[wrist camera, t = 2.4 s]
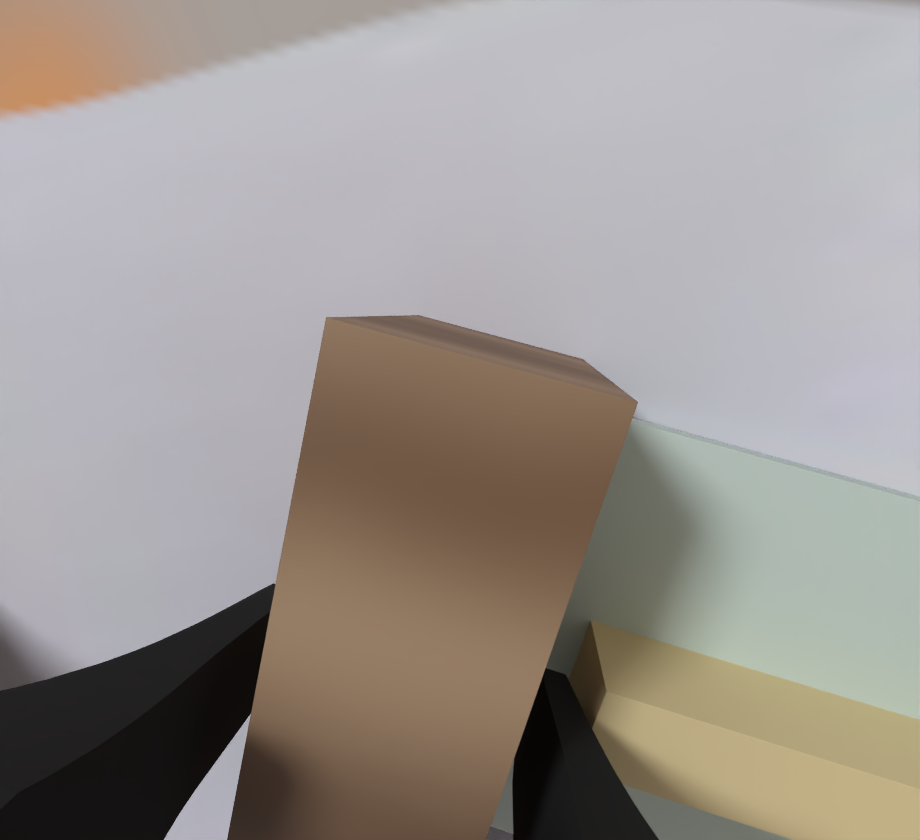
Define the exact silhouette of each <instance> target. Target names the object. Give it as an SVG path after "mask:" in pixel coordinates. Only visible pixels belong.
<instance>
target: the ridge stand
mask: <svg viewBox="0 0 920 840" xmlns="http://www.w3.org/2000/svg"><path fill="white" fill-rule="evenodd" d="M546 668H547V669H550V670H554V671H557V672H560V673H563V674H566V676H567V678H568V680H569V682H570V684H571V686H572V688H573V690H574V692H575V695H576V697H577V699H578V701H579V703H580V705H581V707H582V709H583V711H584V713H585V715H586V717H587V719H588V721H589V723H590V725H591V727H592V729H593V731H594V733H595V735H596V737H597V739H598V741H599V743H600V745H601V747H602V748H603V750H604V752H605V754H606V756H607V758H608V760H609V762H610V763H611V765H612V767H613V769H614V770H615V772H616V774H617V776H618V777H619V779H620V781H621V782H622V784H623V786H624V787H625V789H626V791H627V792H628V794H629V796H630V797H631V799H632V800H633V802H634V804H635V805H636V807H637V808H638V810H639V811H640V813H641V814H642V816H643V817H644V819H645V820H646V822H647V823H648V825H649V826H650V827H651V829H652V830H653V832H654V833H655V835H656V836H657V838H658V839H659V840H920V497H916V496H913V495H909V494H905V493H902V492H898V491H895V490H891V489H887V488H884V487H880V486H876V485H873V484H869V483H866V482H862V481H858V480H855V479H851V478H848V477H844V476H840V475H837V474H833V473H829V472H826V471H822V470H819V469H815V468H811V467H808V466H804V465H801V464H797V463H793V462H790V461H786V460H782V459H779V458H775V457H772V456H768V455H764V454H761V453H757V452H754V451H750V450H746V449H743V448H739V447H735V446H732V445H728V444H725V443H721V442H717V441H714V440H710V439H707V438H703V437H699V436H696V435H692V434H689V433H685V432H681V431H678V430H674V429H670V428H667V427H663V426H660V425H656V424H652V423H649V422H645V421H642V420H638V419H634V418H632V421H631V424H630V426H629V429H628V432H627V435H626V438H625V441H624V444H623V447H622V449H621V452H620V455H619V458H618V461H617V464H616V467H615V470H614V473H613V475H612V478H611V481H610V484H609V487H608V490H607V493H606V496H605V498H604V501H603V504H602V507H601V510H600V513H599V516H598V519H597V521H596V524H595V527H594V530H593V533H592V536H591V539H590V542H589V544H588V547H587V550H586V553H585V556H584V559H583V562H582V565H581V567H580V570H579V573H578V576H577V579H576V582H575V585H574V588H573V590H572V593H571V596H570V599H569V602H568V605H567V608H566V611H565V613H564V616H563V619H562V622H561V625H560V628H559V631H558V634H557V637H556V639H555V642H554V645H553V648H552V651H551V654H550V657H549V660H548V662H547V665H546ZM513 766H514V760H513V763H512V766H511V769H510V772H509V775H508V778H507V780H506V783H505V786H504V789H503V792H502V795H501V798H500V801H499V803H498V806H497V809H496V812H495V815H494V818H493V821H492V824H491V826H490V827H492V828H495V829H498V830H502V831H505V832H508V833H511V834H513V797H512V779H513Z"/></svg>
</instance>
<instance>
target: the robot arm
mask: <svg viewBox="0 0 920 840" xmlns="http://www.w3.org/2000/svg"><path fill="white" fill-rule="evenodd" d="M275 585H276V584H272V585H270V586H268V587H266V588H264V589H262V590H260V591H258V592H256V593H254V594H252V595H251V596H249V597H247V598H245V599H243V600H241V601H239V602H238V603H236V604H234V605H232V606H230V607H228V608H226V609H224V610H223V611H221V612H219V613H217V614H215V615H213V616H211V617H209V618H207V619H205V620H203V621H201V622H199V623H197V624H195V625H193V626H191V627H189V628H186V629H184V630H182V631H180V632H178V633H176V634H173V635H171V636H169V637H167V638H165V639H162V640H160V641H158V642H156V643H153V644H151V645H148V646H146V647H143V648H141V649H138V650H136V651H133V652H130V653H128V654H125V655H122V656H120V657H117V658H114V659H111V660H109V661H106V662H103V663H100V664H97V665H93V666H90V667H87V668H83V669H80V670H77V671H74V672H70V673H67V674H64V675H60V676H57V677H54V678H50V679H47V680H43V681H39V682H35V683H32V684H28V685H24V686H20V687H16V688H11V689H7V690H2V691H0V840H164V838H165V836H166V835H167V833H168V831H169V830H170V828H171V826H172V825H173V823H174V822H175V820H176V818H177V817H178V815H179V813H180V812H181V810H182V809H183V807H184V806H185V804H186V803H187V801H188V800H189V798H190V797H191V795H192V794H193V792H194V791H195V789H196V788H197V787H198V785H199V784H200V783H201V781H202V780H203V778H204V777H205V776H206V774H207V773H208V772H209V770H210V769H211V767H212V766H213V765H214V763H215V762H216V761H217V759H218V758H219V756H220V755H221V754H222V752H223V751H224V750H225V748H226V747H227V745H228V744H229V743H230V741H231V740H232V739H233V737H234V736H235V734H236V733H237V732H238V730H239V729H240V728H241V726H242V725H243V723H244V722H245V721H246V719H247V718H248V716H249V715H250V714H251V712H252V706H253V701H254V696H255V690H256V685H257V680H258V675H259V669H260V664H261V659H262V653H263V648H264V643H265V638H266V632H267V627H268V622H269V617H270V611H271V606H272V601H273V595H274V590H275ZM512 797H513V840H659V839H658V838H657V836H656V835H655V833H654V832H653V830H652V829H651V827H650V826H649V825H648V823H647V822H646V820H645V819H644V817H643V816H642V814H641V813H640V811H639V810H638V808H637V807H636V805H635V804H634V802H633V800H632V799H631V797H630V796H629V794H628V792H627V791H626V789H625V787H624V786H623V784H622V782H621V781H620V779H619V777H618V776H617V774H616V772H615V770H614V769H613V767H612V765H611V763H610V762H609V760H608V758H607V756H606V754H605V752H604V750H603V748H602V747H601V745H600V743H599V741H598V739H597V737H596V735H595V733H594V731H593V729H592V727H591V725H590V723H589V721H588V719H587V717H586V715H585V713H584V711H583V709H582V707H581V705H580V703H579V701H578V699H577V697H576V695H575V692H574V690H573V688H572V686H571V684H570V682H569V680H568V678H567V676H566V674H563V673H560V672H557V671H554V670H550V669H547V668H545V671H544V674H543V677H542V680H541V683H540V685H539V688H538V691H537V694H536V697H535V700H534V703H533V706H532V708H531V711H530V714H529V717H528V720H527V723H526V726H525V729H524V731H523V734H522V737H521V740H520V743H519V746H518V749H517V752H516V754H515V757H514V766H513V779H512Z"/></svg>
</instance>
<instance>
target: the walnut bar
mask: <svg viewBox="0 0 920 840" xmlns="http://www.w3.org/2000/svg"><path fill="white" fill-rule="evenodd" d="M637 403H638V402H637V401H636V400H635V399H633V398H632V397H631V396H629V395H628V394H627V393H626V392H624V391H623V390H622V389H620V388H619V387H618V386H617V385H615V384H614V383H613V382H611V381H610V380H609V379H608V378H606V377H605V376H604V375H602V374H601V373H600V372H599V371H597V370H596V369H595V368H593V367H592V366H591V365H590V364H588V363H587V362H586V361H584V360H583V359H580V358H576V357H572V356H569V355H565V354H561V353H557V352H554V351H550V350H546V349H543V348H539V347H535V346H531V345H528V344H524V343H520V342H516V341H513V340H509V339H505V338H501V337H498V336H494V335H490V334H487V333H483V332H479V331H475V330H472V329H468V328H464V327H460V326H457V325H453V324H449V323H445V322H442V321H438V320H434V319H431V318H427V317H423V316H419V315H411V316H369V317H326V321H325V326H324V332H323V337H322V342H321V347H320V353H319V358H318V363H317V369H316V374H315V379H314V384H313V390H312V395H311V400H310V406H309V411H308V416H307V421H306V427H305V432H304V437H303V442H302V448H301V453H300V458H299V464H298V469H297V474H296V479H295V485H294V490H293V495H292V500H291V506H290V511H289V516H288V522H287V527H286V532H285V537H284V543H283V548H282V553H281V559H280V564H279V569H278V574H277V580H276V585H275V590H274V595H273V601H272V606H271V611H270V617H269V622H268V627H267V632H266V638H265V643H264V648H263V653H262V659H261V664H260V669H259V675H258V680H257V685H256V690H255V696H254V701H253V706H252V712H251V717H250V722H249V727H248V733H247V738H246V743H245V748H244V754H243V759H242V764H241V770H240V775H239V780H238V785H237V791H236V796H235V801H234V806H233V812H232V817H231V822H230V828H229V833H228V838H227V840H486V838H487V835H488V832H489V829H490V826H491V824H492V821H493V818H494V815H495V812H496V809H497V806H498V803H499V801H500V798H501V795H502V792H503V789H504V786H505V783H506V780H507V778H508V775H509V772H510V769H511V766H512V763H513V760H514V757H515V754H516V752H517V749H518V746H519V743H520V740H521V737H522V734H523V731H524V729H525V726H526V723H527V720H528V717H529V714H530V711H531V708H532V706H533V703H534V700H535V697H536V694H537V691H538V688H539V685H540V683H541V680H542V677H543V674H544V671H545V668H546V665H547V662H548V660H549V657H550V654H551V651H552V648H553V645H554V642H555V639H556V637H557V634H558V631H559V628H560V625H561V622H562V619H563V616H564V613H565V611H566V608H567V605H568V602H569V599H570V596H571V593H572V590H573V588H574V585H575V582H576V579H577V576H578V573H579V570H580V567H581V565H582V562H583V559H584V556H585V553H586V550H587V547H588V544H589V542H590V539H591V536H592V533H593V530H594V527H595V524H596V521H597V519H598V516H599V513H600V510H601V507H602V504H603V501H604V498H605V496H606V493H607V490H608V487H609V484H610V481H611V478H612V475H613V473H614V470H615V467H616V464H617V461H618V458H619V455H620V452H621V449H622V447H623V444H624V441H625V438H626V435H627V432H628V429H629V426H630V424H631V421H632V418H633V415H634V412H635V409H636V406H637Z"/></svg>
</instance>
